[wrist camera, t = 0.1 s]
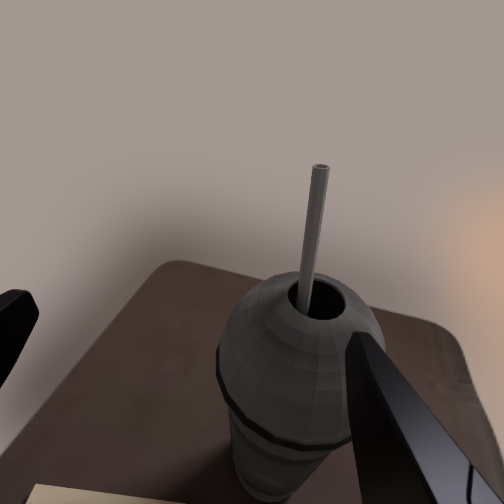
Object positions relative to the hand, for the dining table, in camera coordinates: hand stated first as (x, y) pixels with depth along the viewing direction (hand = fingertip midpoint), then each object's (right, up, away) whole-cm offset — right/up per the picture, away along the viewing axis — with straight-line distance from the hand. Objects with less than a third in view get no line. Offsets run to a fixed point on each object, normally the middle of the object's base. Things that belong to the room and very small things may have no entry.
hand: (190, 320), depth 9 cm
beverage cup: (+3, -12, +12) cm, 17 cm away
